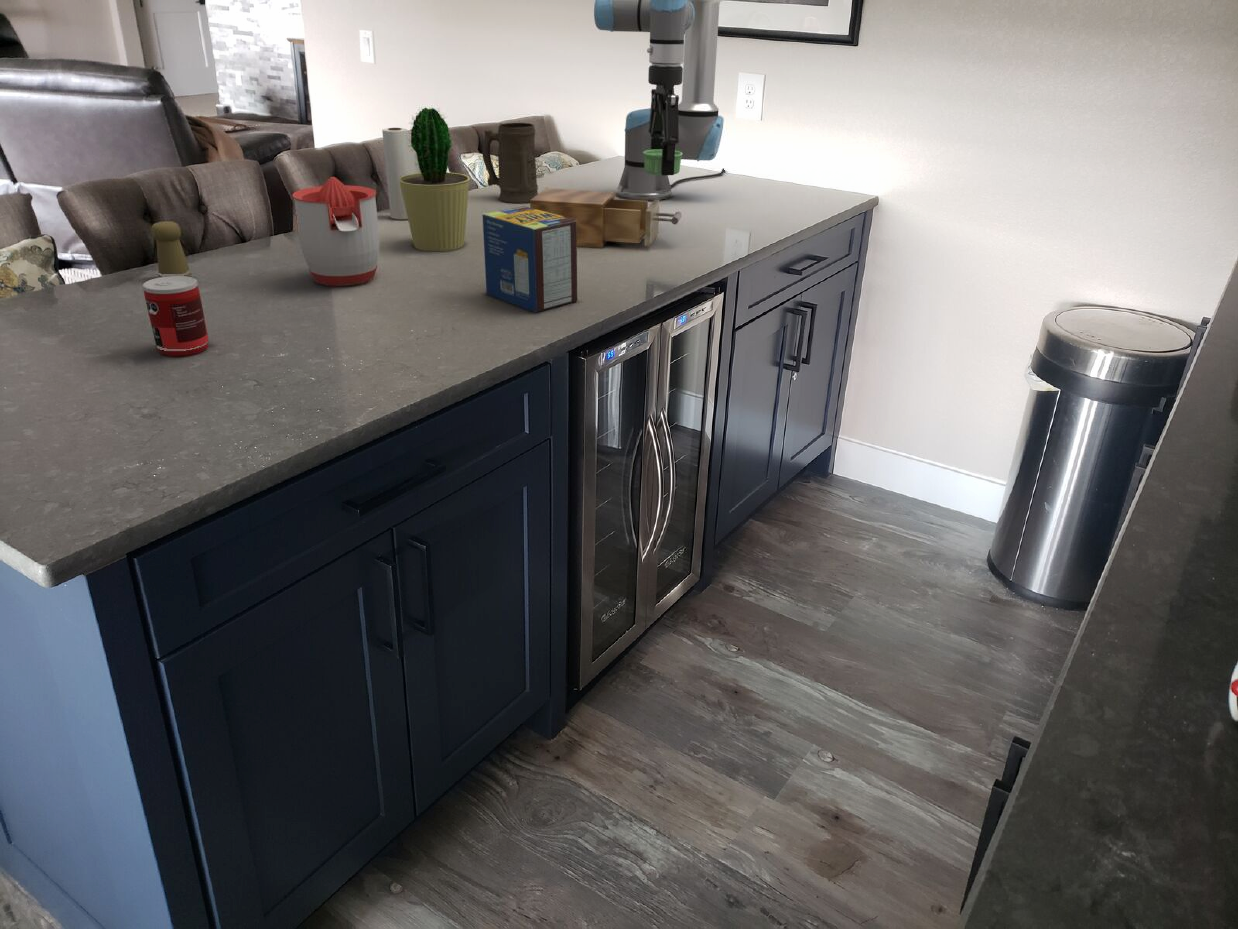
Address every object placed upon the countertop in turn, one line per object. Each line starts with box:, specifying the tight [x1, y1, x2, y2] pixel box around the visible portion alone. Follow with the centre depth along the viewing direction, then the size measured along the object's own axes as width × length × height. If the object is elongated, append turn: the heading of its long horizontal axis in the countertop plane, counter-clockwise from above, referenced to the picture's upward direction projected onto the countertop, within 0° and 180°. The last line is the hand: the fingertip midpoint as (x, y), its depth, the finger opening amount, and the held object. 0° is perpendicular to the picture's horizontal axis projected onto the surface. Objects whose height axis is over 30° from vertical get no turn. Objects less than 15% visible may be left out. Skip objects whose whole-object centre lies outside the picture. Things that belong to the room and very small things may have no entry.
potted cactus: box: [399, 106, 471, 252], centre depth 204 cm, size 15×15×30 cm
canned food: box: [142, 276, 210, 357], centre depth 148 cm, size 8×8×11 cm
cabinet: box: [529, 187, 616, 249], centre depth 217 cm, size 17×14×10 cm
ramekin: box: [643, 149, 682, 175], centre depth 213 cm, size 9×9×4 cm
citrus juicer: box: [291, 176, 380, 287], centre depth 181 cm, size 16×17×20 cm
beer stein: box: [481, 122, 539, 204], centre depth 252 cm, size 15×11×20 cm
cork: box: [150, 220, 193, 278], centre depth 182 cm, size 6×6×11 cm
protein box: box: [482, 205, 578, 313], centre depth 174 cm, size 10×15×16 cm
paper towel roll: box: [381, 127, 421, 220], centre depth 229 cm, size 7×6×21 cm
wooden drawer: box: [603, 198, 682, 247], centre depth 214 cm, size 21×13×8 cm, turn 79°
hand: (661, 170), depth 213 cm, fingers closed on ramekin, 9 cm apart
